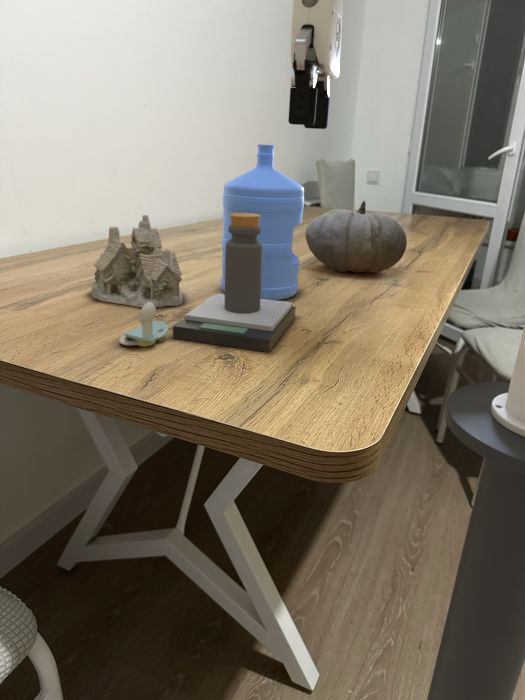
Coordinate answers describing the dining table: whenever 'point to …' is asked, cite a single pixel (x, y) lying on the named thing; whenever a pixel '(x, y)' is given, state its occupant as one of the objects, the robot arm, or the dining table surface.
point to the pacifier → (146, 328)
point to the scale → (236, 324)
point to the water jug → (268, 221)
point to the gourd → (356, 240)
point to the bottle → (243, 264)
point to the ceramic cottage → (137, 270)
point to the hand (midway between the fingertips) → (308, 126)
